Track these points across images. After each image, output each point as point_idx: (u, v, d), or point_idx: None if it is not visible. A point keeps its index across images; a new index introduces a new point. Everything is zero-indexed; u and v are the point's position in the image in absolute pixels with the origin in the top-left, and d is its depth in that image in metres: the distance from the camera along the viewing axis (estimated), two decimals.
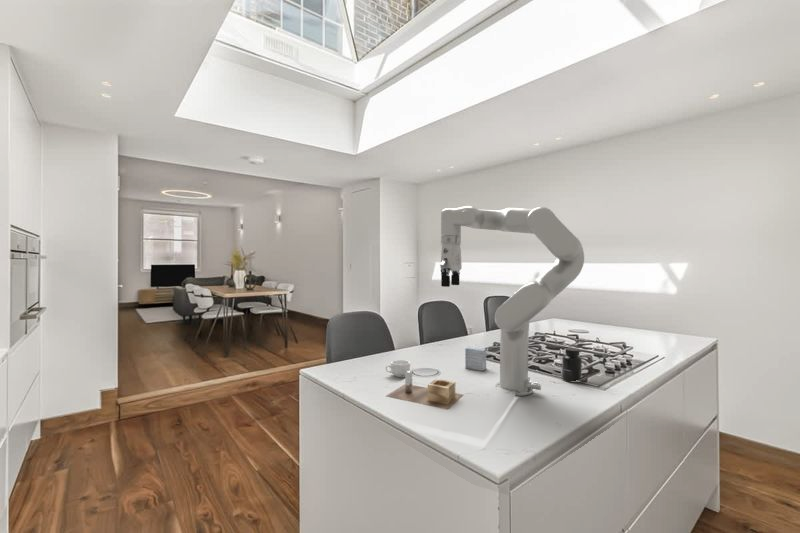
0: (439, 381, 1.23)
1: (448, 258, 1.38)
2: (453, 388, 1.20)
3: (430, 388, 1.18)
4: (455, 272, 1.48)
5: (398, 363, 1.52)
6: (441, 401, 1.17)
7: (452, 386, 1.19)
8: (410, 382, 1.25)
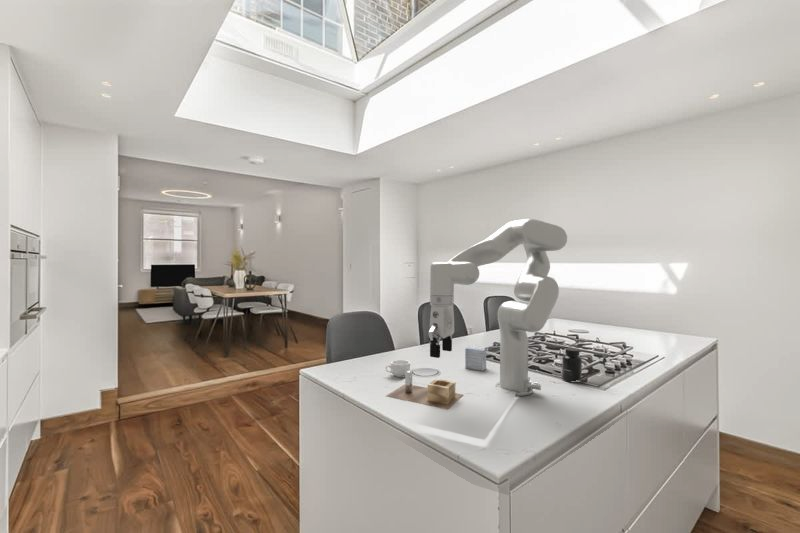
0: (439, 381, 1.23)
1: (438, 323, 1.15)
2: (453, 388, 1.20)
3: (430, 388, 1.18)
4: None
5: (398, 363, 1.52)
6: (441, 401, 1.17)
7: (452, 386, 1.19)
8: (410, 382, 1.25)
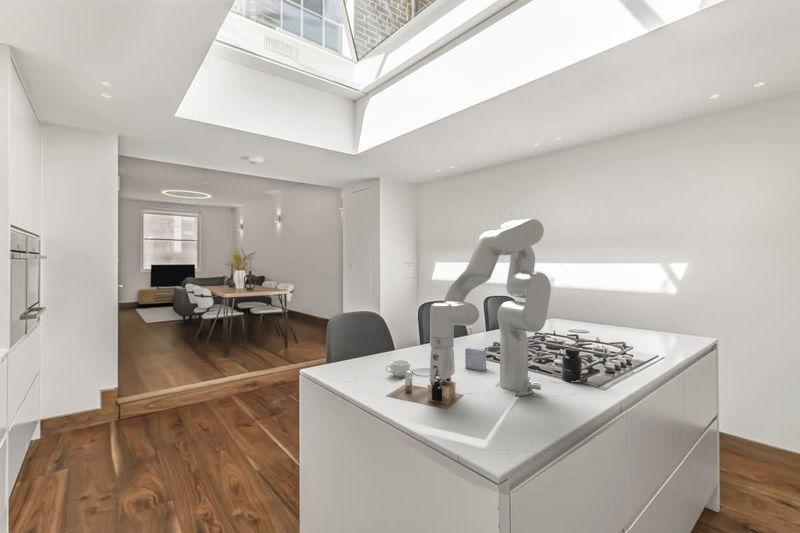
0: None
1: (438, 366, 1.15)
2: (453, 388, 1.20)
3: (430, 388, 1.18)
4: None
5: (398, 363, 1.52)
6: (441, 401, 1.17)
7: (452, 386, 1.19)
8: (410, 382, 1.25)
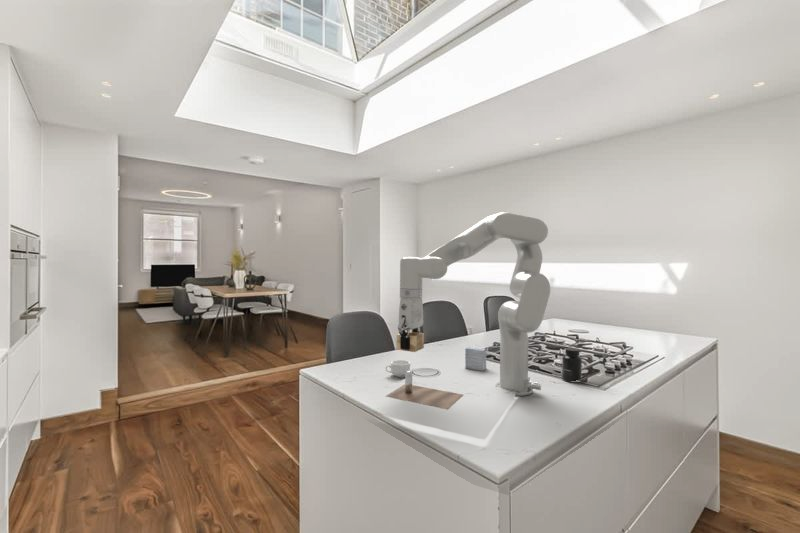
0: None
1: (406, 315, 1.20)
2: (421, 338, 1.25)
3: (398, 338, 1.24)
4: (415, 330, 1.29)
5: (398, 363, 1.52)
6: (409, 349, 1.22)
7: (420, 336, 1.24)
8: (410, 382, 1.25)
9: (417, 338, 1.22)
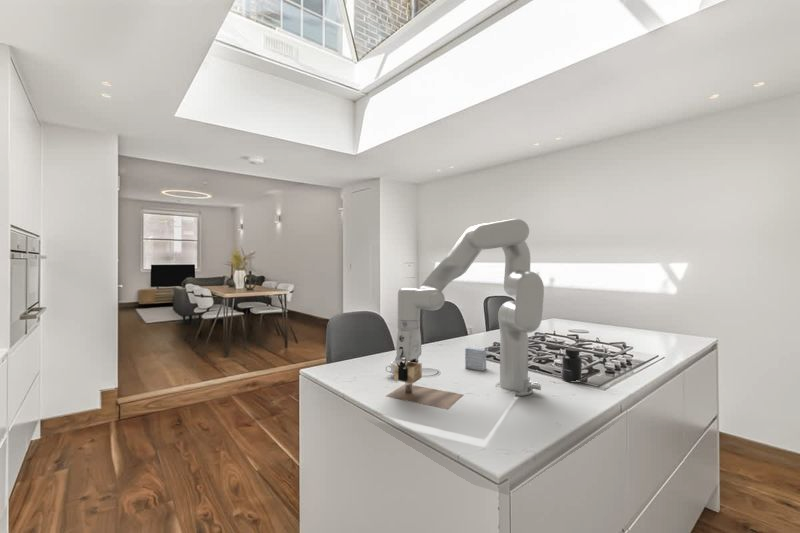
0: None
1: (404, 347, 1.21)
2: (419, 369, 1.26)
3: (396, 369, 1.24)
4: (413, 360, 1.29)
5: None
6: (406, 381, 1.22)
7: (418, 367, 1.25)
8: None
9: (415, 369, 1.23)
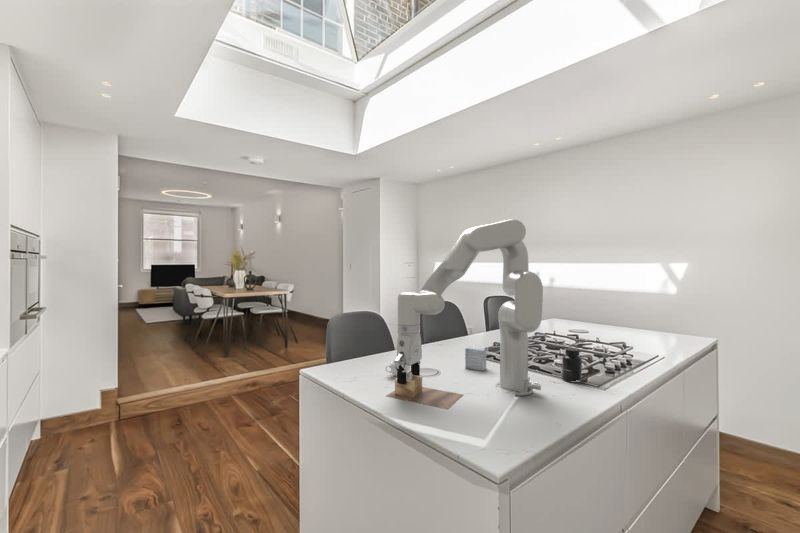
0: None
1: (404, 352, 1.21)
2: (419, 382, 1.26)
3: None
4: None
5: None
6: (407, 394, 1.22)
7: (418, 380, 1.25)
8: None
9: (415, 383, 1.23)
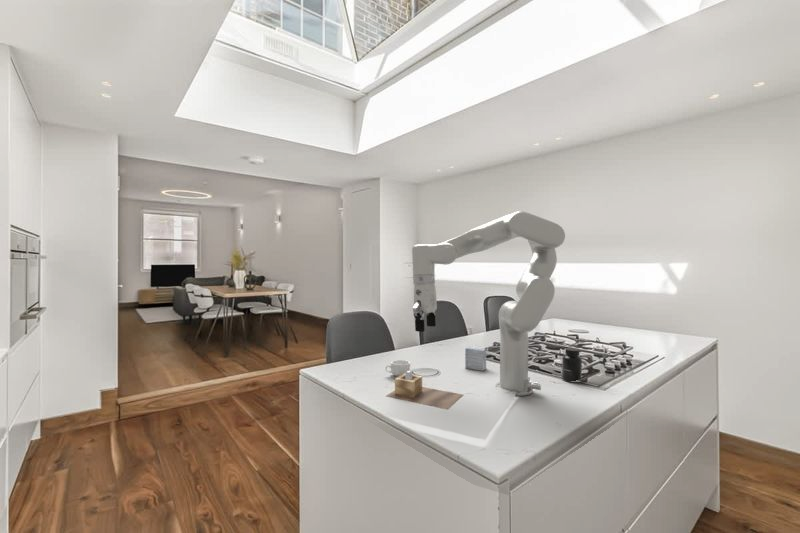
0: None
1: (421, 300, 1.25)
2: (419, 382, 1.26)
3: (397, 382, 1.24)
4: (430, 312, 1.35)
5: (398, 363, 1.52)
6: (407, 394, 1.22)
7: (418, 380, 1.25)
8: None
9: (415, 383, 1.23)
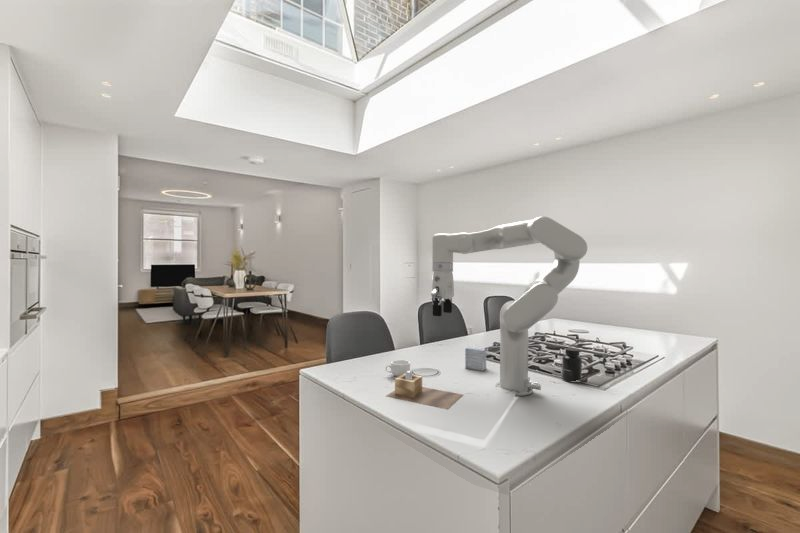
0: None
1: (440, 286, 1.32)
2: (419, 382, 1.26)
3: (397, 382, 1.24)
4: (447, 299, 1.41)
5: (398, 363, 1.52)
6: (407, 394, 1.22)
7: (418, 380, 1.25)
8: None
9: (415, 383, 1.23)
